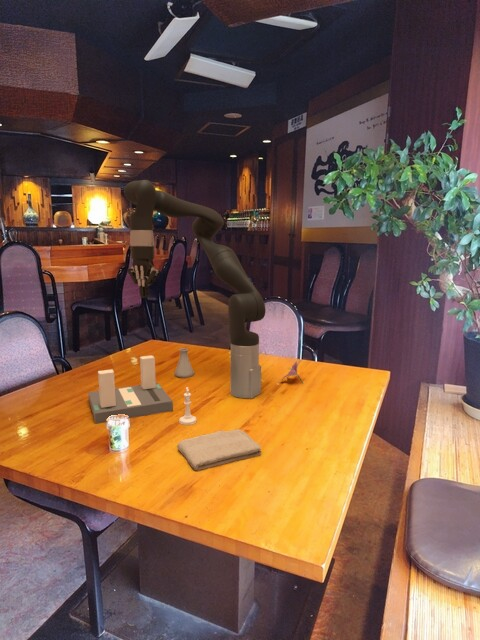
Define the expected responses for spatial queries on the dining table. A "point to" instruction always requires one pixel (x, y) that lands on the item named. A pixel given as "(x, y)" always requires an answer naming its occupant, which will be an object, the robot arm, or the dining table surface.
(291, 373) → the lily
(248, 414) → the dining table surface
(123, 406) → the switch bank
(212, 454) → the washcloth
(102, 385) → the tab
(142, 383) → the tab
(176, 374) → the flask
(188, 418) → the chess piece
